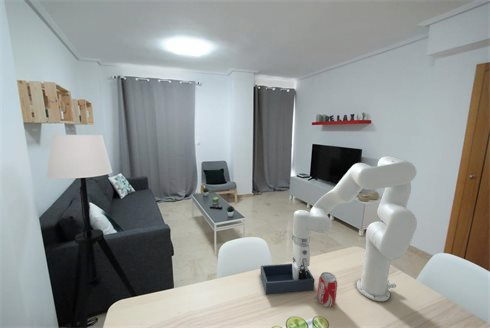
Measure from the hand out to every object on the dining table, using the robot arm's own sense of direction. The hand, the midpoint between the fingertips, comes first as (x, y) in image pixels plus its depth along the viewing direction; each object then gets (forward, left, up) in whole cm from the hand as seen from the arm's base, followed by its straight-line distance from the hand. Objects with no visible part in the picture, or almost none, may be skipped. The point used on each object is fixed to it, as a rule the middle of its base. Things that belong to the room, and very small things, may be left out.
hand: (298, 273), depth 102 cm
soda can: (-7, +12, -5) cm, 15 cm away
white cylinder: (0, 0, -3) cm, 3 cm away
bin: (+6, 0, -5) cm, 7 cm away
